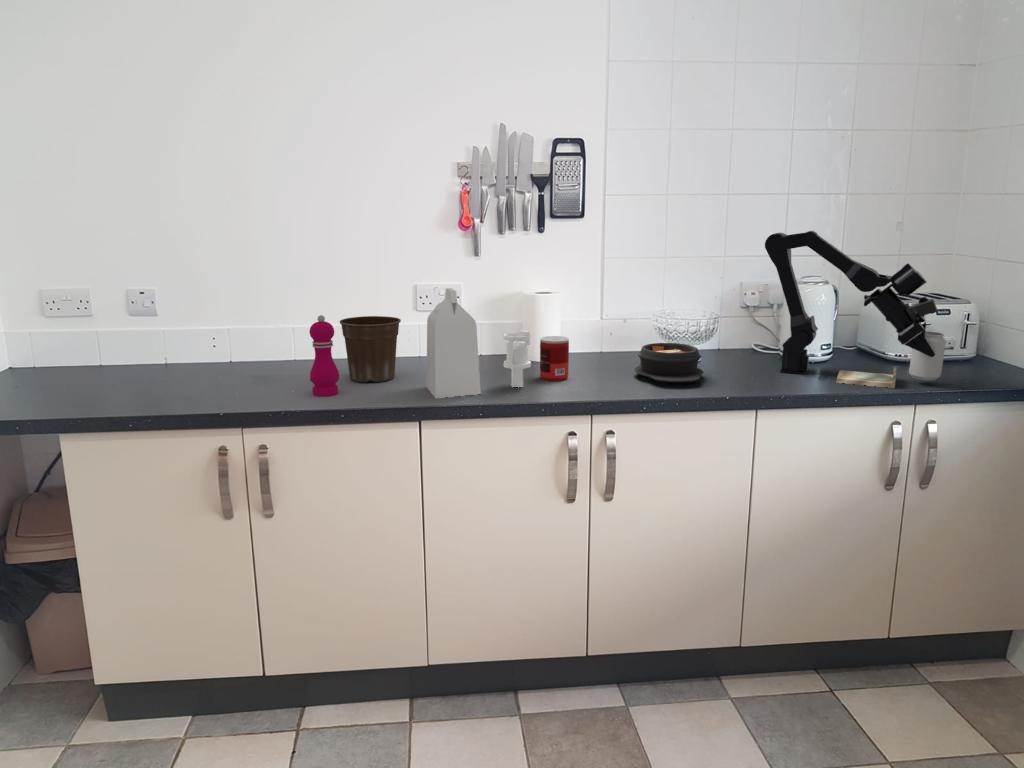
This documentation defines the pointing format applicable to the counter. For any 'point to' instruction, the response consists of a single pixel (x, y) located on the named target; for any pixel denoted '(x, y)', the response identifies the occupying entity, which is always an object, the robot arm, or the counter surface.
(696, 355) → the casserole
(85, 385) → the counter surface
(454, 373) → the milk
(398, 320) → the plant pot
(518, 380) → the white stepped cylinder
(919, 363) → the can
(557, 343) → the canned food
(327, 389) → the pepper mill
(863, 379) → the rack board
